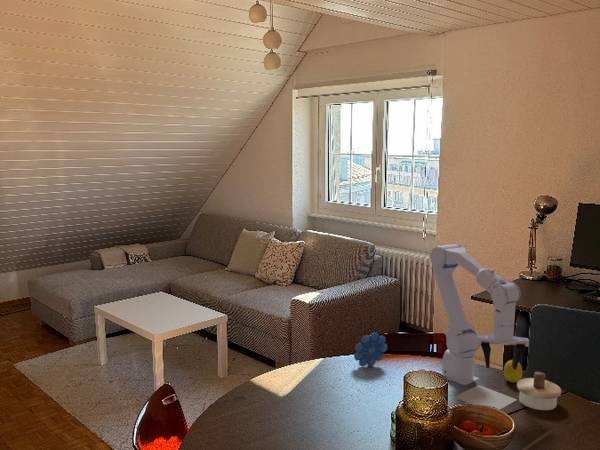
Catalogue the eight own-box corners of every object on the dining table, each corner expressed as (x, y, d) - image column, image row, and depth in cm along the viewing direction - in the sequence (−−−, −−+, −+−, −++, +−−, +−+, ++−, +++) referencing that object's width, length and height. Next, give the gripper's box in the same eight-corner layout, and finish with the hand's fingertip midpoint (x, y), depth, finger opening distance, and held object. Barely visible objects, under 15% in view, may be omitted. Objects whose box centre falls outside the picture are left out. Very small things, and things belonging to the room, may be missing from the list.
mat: (453, 398, 170) (454, 397, 170) (478, 386, 179) (478, 384, 178) (493, 415, 161) (493, 413, 160) (517, 401, 169) (517, 399, 169)
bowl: (512, 402, 168) (513, 388, 168) (529, 392, 175) (530, 378, 174) (545, 415, 161) (546, 400, 160) (562, 404, 167) (563, 390, 166)
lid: (508, 388, 167) (510, 372, 167) (529, 377, 175) (530, 362, 174) (548, 402, 158) (550, 386, 158) (568, 390, 166) (569, 374, 165)
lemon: (522, 387, 178) (524, 363, 177) (504, 386, 179) (505, 362, 178) (519, 380, 183) (521, 356, 182) (501, 378, 184) (503, 355, 183)
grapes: (382, 360, 199) (383, 327, 197) (389, 367, 192) (390, 334, 191) (350, 362, 197) (351, 329, 195) (356, 370, 190) (356, 336, 188)
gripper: (480, 326, 164) (477, 371, 166) (533, 329, 162) (529, 374, 164) (476, 319, 171) (473, 361, 173) (526, 321, 169) (523, 364, 171)
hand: (500, 367), depth 169 cm, fingers open, 7 cm apart
